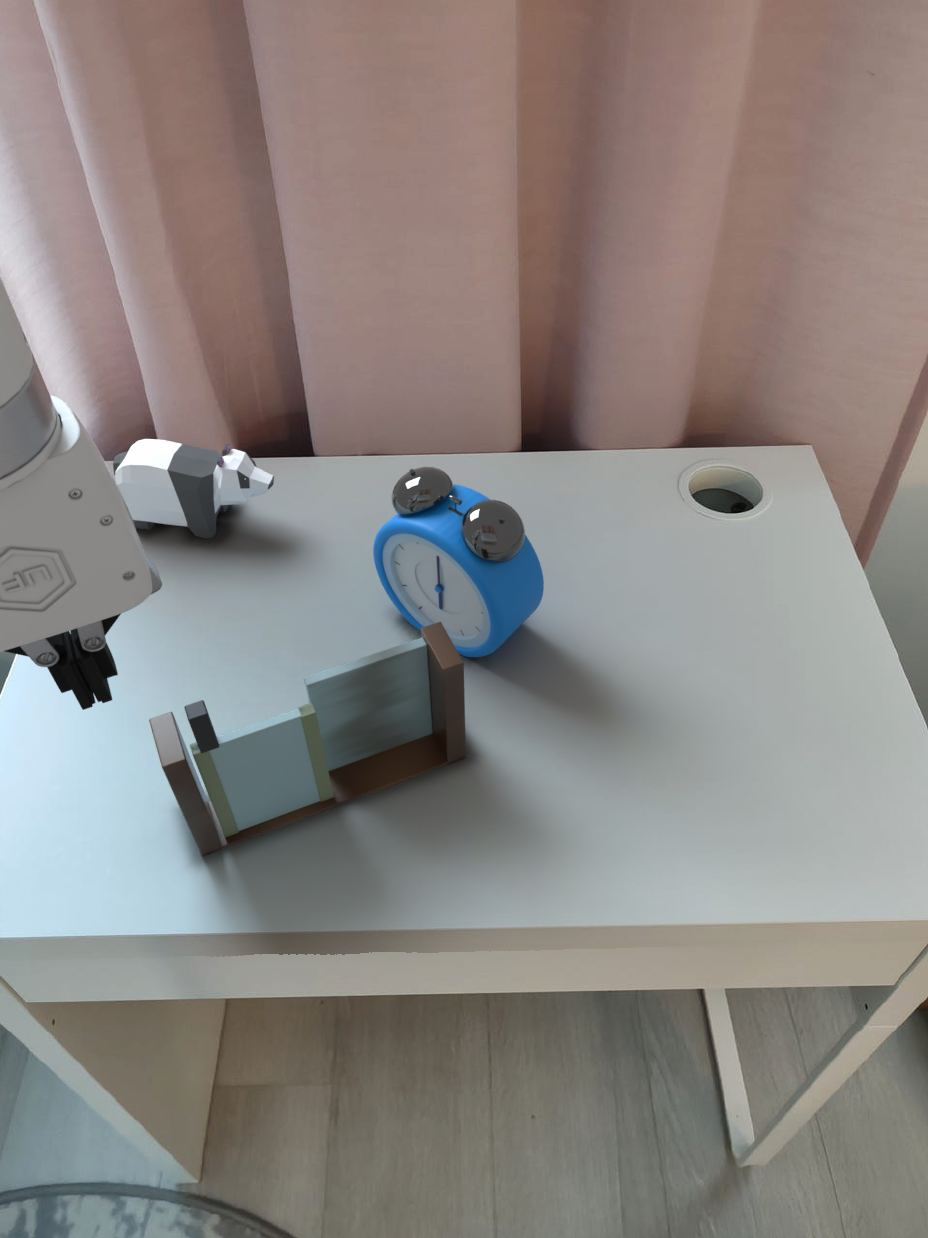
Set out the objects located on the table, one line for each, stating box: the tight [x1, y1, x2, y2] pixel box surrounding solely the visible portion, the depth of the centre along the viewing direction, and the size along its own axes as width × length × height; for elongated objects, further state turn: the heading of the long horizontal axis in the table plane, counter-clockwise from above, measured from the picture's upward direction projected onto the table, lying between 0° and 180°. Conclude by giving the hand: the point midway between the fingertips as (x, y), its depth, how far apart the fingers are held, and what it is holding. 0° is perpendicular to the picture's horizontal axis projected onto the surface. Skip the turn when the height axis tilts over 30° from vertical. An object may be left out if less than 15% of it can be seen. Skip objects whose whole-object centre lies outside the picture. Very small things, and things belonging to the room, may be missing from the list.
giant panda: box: [112, 438, 275, 539], centre depth 89 cm, size 15×6×10 cm, turn 80°
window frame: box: [148, 622, 467, 858], centre depth 69 cm, size 20×4×12 cm, turn 113°
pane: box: [184, 699, 334, 837], centre depth 66 cm, size 8×1×14 cm, turn 113°
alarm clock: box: [372, 466, 545, 658], centre depth 78 cm, size 13×6×15 cm, turn 51°
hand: (93, 685), depth 55 cm, fingers closed
